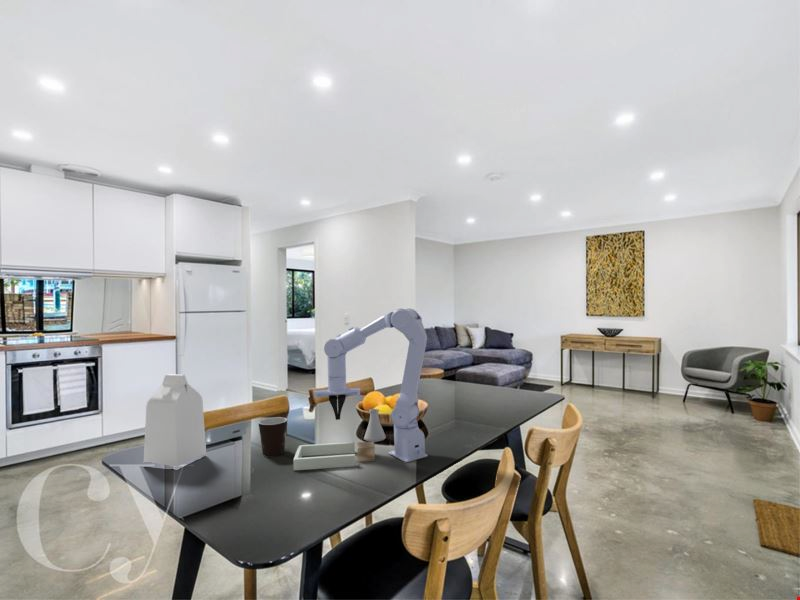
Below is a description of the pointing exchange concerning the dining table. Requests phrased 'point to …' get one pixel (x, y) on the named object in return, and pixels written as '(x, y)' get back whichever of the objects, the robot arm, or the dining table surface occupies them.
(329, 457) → the white tray
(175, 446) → the milk
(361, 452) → the oak block
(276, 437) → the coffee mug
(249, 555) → the dining table surface
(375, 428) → the flask
